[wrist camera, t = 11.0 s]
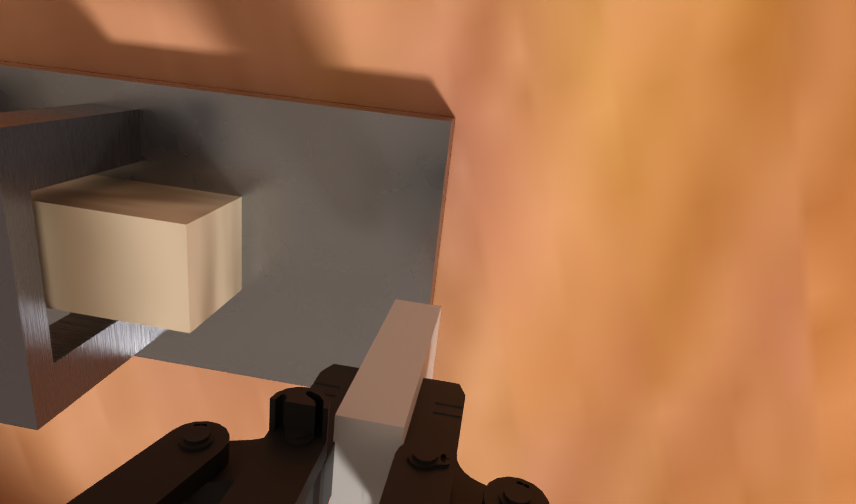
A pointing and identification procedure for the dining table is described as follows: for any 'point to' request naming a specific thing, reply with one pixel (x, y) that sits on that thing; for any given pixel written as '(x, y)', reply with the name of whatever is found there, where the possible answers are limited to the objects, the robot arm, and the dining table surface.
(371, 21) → the dining table surface
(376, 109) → the slotted block rack
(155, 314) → the wooden chunk
